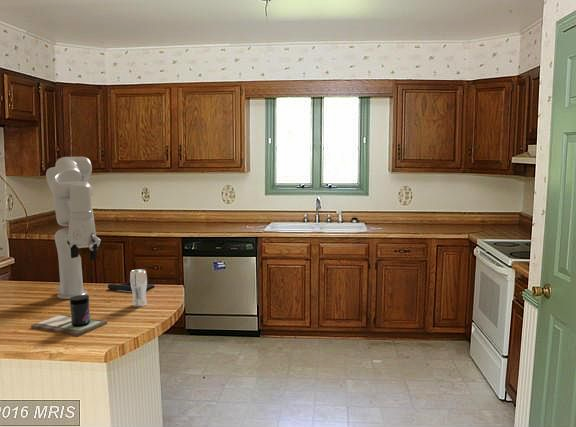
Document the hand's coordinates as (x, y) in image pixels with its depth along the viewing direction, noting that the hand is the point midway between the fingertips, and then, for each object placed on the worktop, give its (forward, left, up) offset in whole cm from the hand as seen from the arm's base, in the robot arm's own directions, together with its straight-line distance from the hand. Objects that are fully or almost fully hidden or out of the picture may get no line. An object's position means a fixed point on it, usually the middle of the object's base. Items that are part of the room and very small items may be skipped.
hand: (84, 258), depth 191 cm
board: (-1, -8, -25) cm, 26 cm away
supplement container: (+5, -8, -24) cm, 25 cm away
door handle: (-14, +43, -25) cm, 52 cm away
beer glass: (+7, +23, -25) cm, 34 cm away
